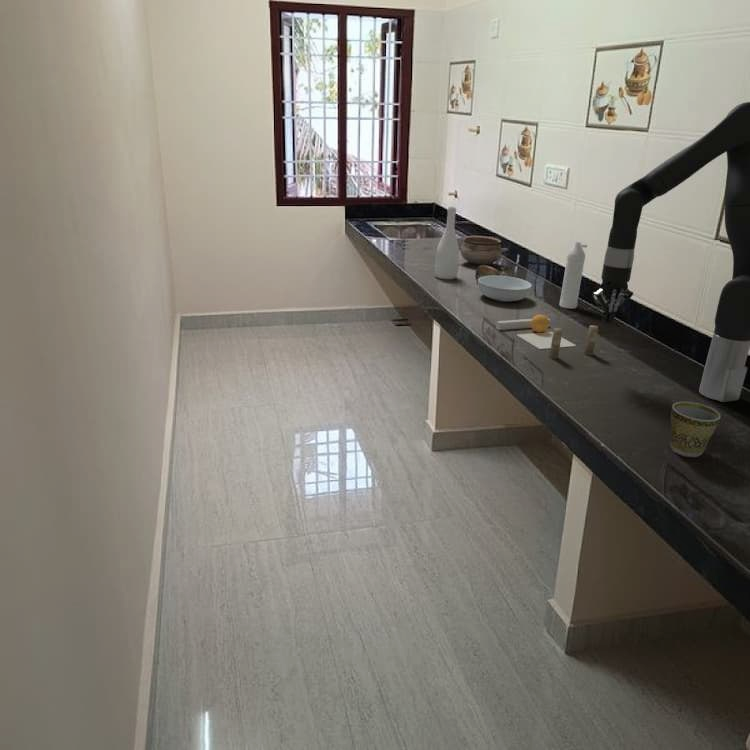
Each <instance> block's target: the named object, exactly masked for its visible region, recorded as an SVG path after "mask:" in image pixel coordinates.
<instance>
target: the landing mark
mask: <svg viewBox="0 0 750 750" xmlns="http://www.w3.org/2000/svg"><path fill="white" fill-rule="evenodd" d="M516 336H517V337H518V338H520V339H522V340H523V341H524V342H527V343H528V344H530V345H532V346H533V347H535V348H536V349H538V350H548V349H549V350H550V349H551V343H552V337H553V331H544V332H531V333H522V334H521V333H520V334H519V333H518V334H516ZM570 347H577V345H576V344H575V343H573V342H571V341H569V340H567V339H565V338H564V337H561V343H560V349H561V348H570Z"/></svg>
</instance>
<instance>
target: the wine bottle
mask: <svg viewBox="0 0 750 750" xmlns="http://www.w3.org/2000/svg"><path fill="white" fill-rule="evenodd" d="M446 212H447V215H446V216H447V218H446V225H445V226H446V227H445V230H444V231H443V234H442V237H441V238H440V241H439V243H438V245H437V248H436V249H437V250H436V256H435V257H436V258H435V266H434V267H435V269H434V276H435V277H436V278H437V279H440V280H446V281H447V280H455V279H456V278H457V275H458V269H459V268H458V266H459V257H460V250H459V247H458V246H459V243H458V239H457V234H456V229H455V224H456V223H455V221H456V213H457V208H456V207H455V206H448V207H447V211H446Z"/></svg>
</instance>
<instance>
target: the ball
mask: <svg viewBox="0 0 750 750" xmlns="http://www.w3.org/2000/svg"><path fill="white" fill-rule="evenodd" d="M547 318H548V317H547V316H546V315H544V314H536V315H534V316H533V317H532V318H531V319H532V320H531V327H532V328H531V329H532V330H533V331H534V332H535V333H543V332H546V331H547V329H548V328H549V327H550V323H549V320H548V319H549V318H548V319H547Z"/></svg>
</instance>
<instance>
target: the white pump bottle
mask: <svg viewBox="0 0 750 750" xmlns="http://www.w3.org/2000/svg"><path fill="white" fill-rule="evenodd" d="M583 248H584V249H585V248H588V244H586V243H583V242H581V241H575V242H574V245H573V247H572V248H571V249H570V250H569V251H568V252H567V256H566V263H565V269H564V275H563V280H562V285H561V288H562V289H561V294H560V299H559V306H560V308H563V309H570V310H571V309H572V310H573V309H576V308H577V306H578V300H579V295H580V288H581V287H580V286H581V281H582V276H583V271H584V266H585V259H586V252H585V251H584V249H583Z"/></svg>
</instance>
